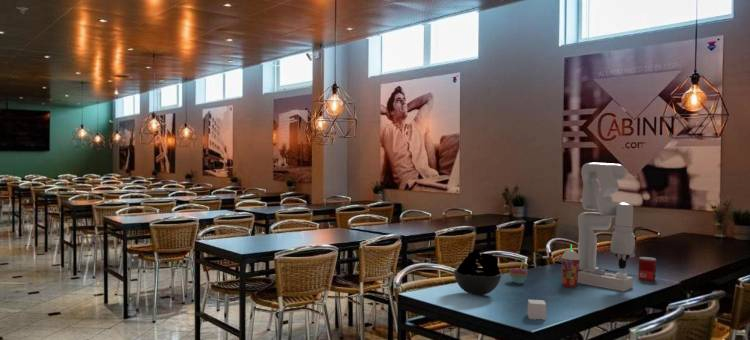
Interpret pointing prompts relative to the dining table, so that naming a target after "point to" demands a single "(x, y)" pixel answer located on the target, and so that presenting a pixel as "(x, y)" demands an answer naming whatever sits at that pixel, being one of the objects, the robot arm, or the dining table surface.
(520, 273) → the cupcake
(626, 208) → the robot arm
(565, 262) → the smoothie
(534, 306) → the grey cube
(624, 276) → the key ivory
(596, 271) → the key slate
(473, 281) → the coal bowl
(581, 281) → the keypad
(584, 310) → the dining table surface
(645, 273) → the canned food
